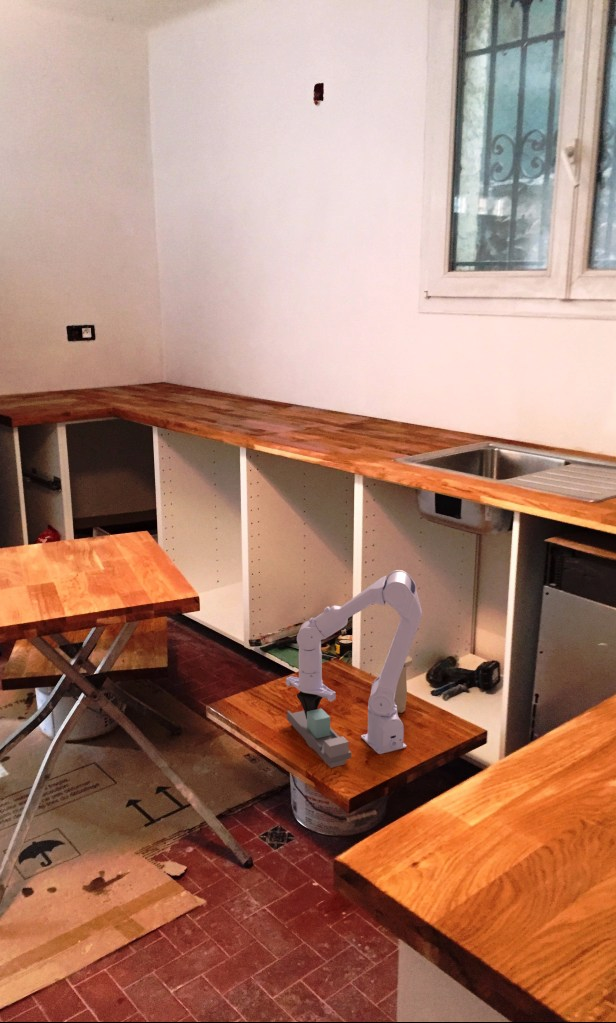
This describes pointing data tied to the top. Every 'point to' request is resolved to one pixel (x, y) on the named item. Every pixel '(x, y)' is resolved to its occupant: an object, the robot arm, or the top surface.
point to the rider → (318, 723)
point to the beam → (322, 741)
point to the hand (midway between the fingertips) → (310, 718)
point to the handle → (402, 688)
